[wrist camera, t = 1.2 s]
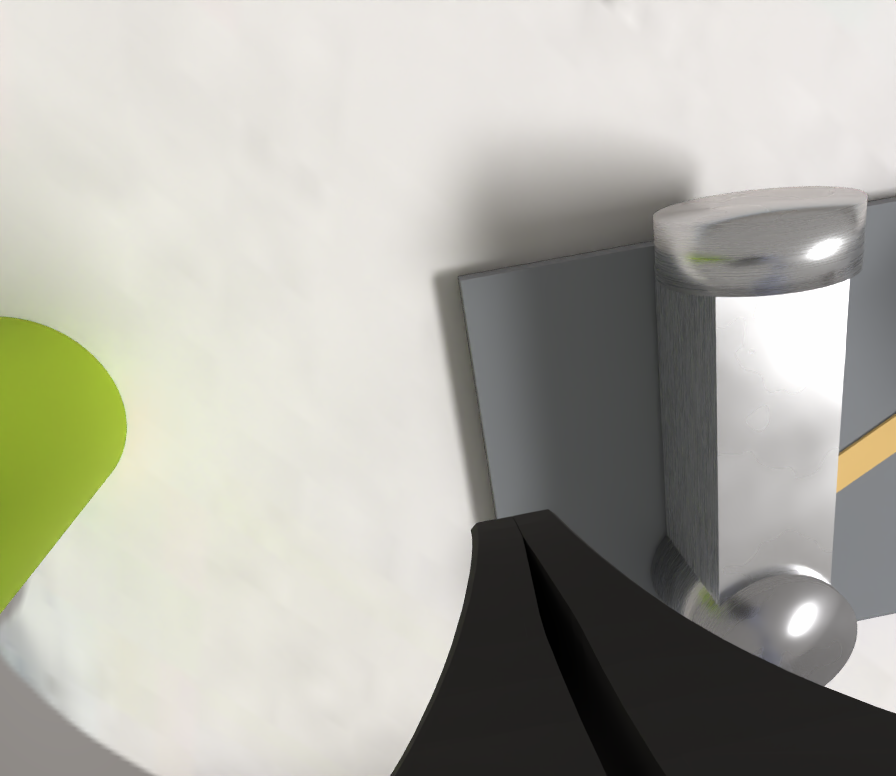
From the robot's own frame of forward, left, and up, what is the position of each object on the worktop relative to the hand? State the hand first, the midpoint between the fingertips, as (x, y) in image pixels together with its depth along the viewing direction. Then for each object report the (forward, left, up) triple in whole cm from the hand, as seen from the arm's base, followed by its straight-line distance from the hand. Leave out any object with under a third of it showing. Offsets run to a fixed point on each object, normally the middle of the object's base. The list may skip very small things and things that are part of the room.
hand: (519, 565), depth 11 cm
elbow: (-3, -8, -9) cm, 12 cm away
